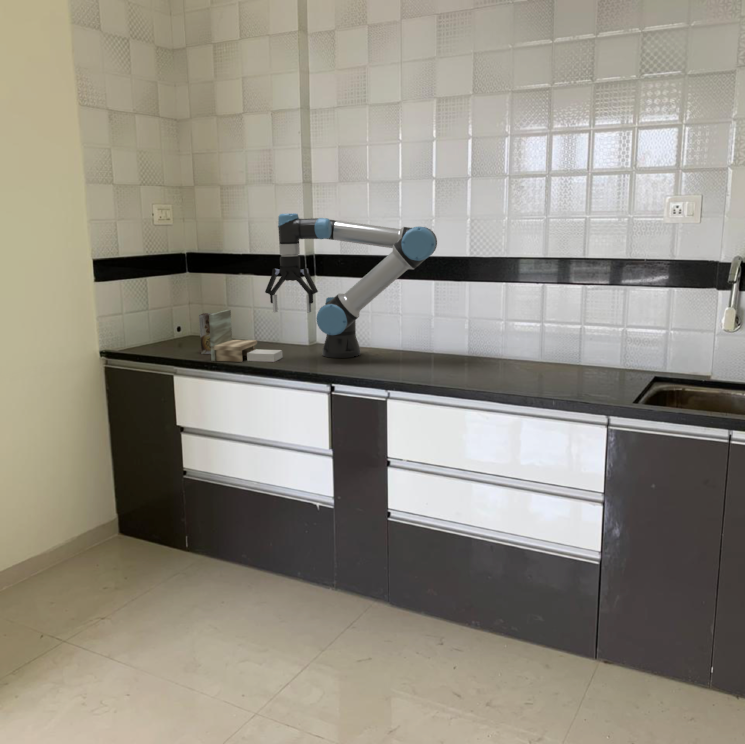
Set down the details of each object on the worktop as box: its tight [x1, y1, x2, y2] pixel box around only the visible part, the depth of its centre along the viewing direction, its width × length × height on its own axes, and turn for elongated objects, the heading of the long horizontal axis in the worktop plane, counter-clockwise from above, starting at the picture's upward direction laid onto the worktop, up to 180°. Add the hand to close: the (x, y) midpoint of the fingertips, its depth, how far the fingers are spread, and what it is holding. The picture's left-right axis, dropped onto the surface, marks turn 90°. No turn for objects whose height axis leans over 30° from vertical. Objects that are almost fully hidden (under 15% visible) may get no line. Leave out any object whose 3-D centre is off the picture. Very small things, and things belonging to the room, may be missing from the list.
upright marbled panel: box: [209, 309, 258, 363], centre depth 288 cm, size 12×16×18 cm
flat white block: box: [246, 348, 283, 363], centre depth 287 cm, size 11×9×3 cm
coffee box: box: [198, 312, 214, 355], centre depth 301 cm, size 9×6×16 cm
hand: (292, 312), depth 280 cm, fingers open, 13 cm apart
